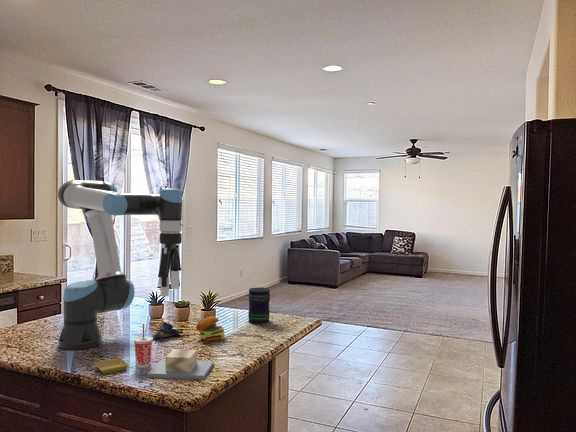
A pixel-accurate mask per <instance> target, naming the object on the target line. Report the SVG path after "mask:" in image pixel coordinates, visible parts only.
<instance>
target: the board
mask: <svg viewBox="0 0 576 432" xmlns="http://www.w3.org/2000/svg"><path fill="white" fill-rule="evenodd" d="M165 360H166V359H160V360H159V361H158V362H157V363H155V365H154V366H153V367H152V368H151V369H150V370H149V371H147V373H146V378H158V379H159V378H160V379H180V380H181V379H182V380H184V379H186V380H205V378H206V377H207V376H208V375H209V374H208V373H210V372H211V370H212V368H213V367H214V361H213V360H212V361H210V360H208V361H207V360H197V364H196V365H195V367H194V368H193V369H192V371H191V372H175V371H165Z"/></svg>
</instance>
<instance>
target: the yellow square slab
mask: <svg viewBox="0 0 576 432" xmlns="http://www.w3.org/2000/svg"><path fill="white" fill-rule="evenodd" d="M94 364H95V365H96V367H97V368H98V369H99V371H101V373H102V374H103V375H105V374H112V373H115V372H120V371H121V372H122V371H126V370H127V368H128V367H129V364H128V363H127V362H126V361H125V360H124V358H123V357H117V358H113V359H112V358H111V359H106V360H101V361H96V362H94Z"/></svg>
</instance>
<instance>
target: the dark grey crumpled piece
mask: <svg viewBox="0 0 576 432" xmlns="http://www.w3.org/2000/svg"><path fill="white" fill-rule="evenodd" d="M178 334H180V335H183V334H184V331H182V330H177V329H175V328H174V326H173V324H170V323H169V322H164V321H162V322H161V323H160V324H159V329H158V330H157V331H156V333H155V334H153V335H152V336H151V337H152V338H153V339H156V338H167V337H172V336H175V335H178Z"/></svg>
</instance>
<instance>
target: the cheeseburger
mask: <svg viewBox="0 0 576 432" xmlns="http://www.w3.org/2000/svg"><path fill="white" fill-rule="evenodd" d="M218 322H220V320H219V318H217V317H216V316H213V315H211V316H208V317H206V318H203V319H199V320H198V322H196V323H197V324H196V331H198V332H199V337H200V339H201V340H202V341H204V342H213V341H218V340H220V341H221V340H225V337H226V334H225V328H224V327H223V326H222V325H218Z"/></svg>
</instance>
